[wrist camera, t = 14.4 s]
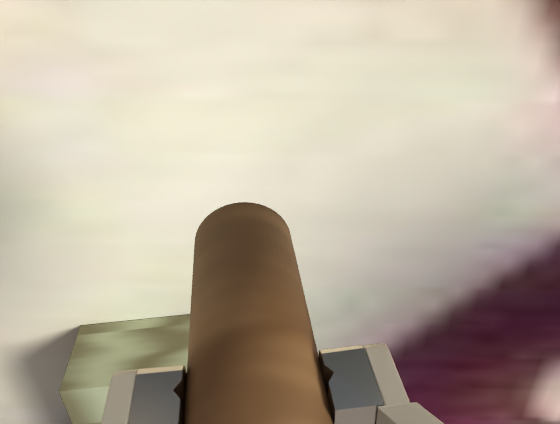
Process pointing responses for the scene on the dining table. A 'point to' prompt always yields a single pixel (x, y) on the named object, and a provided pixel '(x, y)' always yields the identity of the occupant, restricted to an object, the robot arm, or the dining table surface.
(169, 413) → the robot arm
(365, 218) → the dining table surface
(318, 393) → the dowel
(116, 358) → the socket block
